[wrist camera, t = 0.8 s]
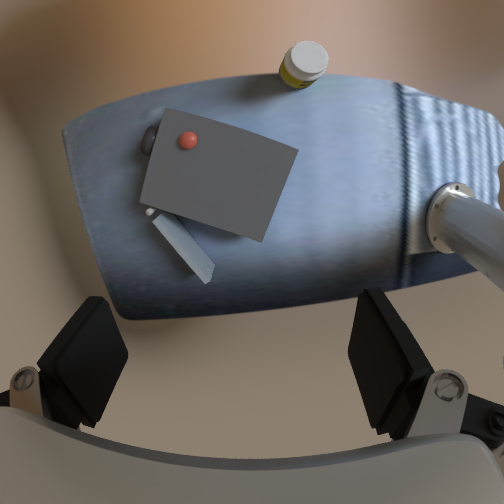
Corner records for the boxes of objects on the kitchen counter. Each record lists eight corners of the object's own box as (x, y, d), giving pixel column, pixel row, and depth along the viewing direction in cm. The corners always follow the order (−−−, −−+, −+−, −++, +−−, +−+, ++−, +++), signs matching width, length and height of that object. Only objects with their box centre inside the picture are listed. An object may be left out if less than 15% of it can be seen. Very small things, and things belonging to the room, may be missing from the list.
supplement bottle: (297, 96, 31) (310, 85, 23) (271, 72, 29) (276, 54, 22) (322, 75, 29) (341, 60, 21) (296, 51, 28) (308, 30, 20)
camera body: (292, 148, 33) (299, 150, 28) (257, 237, 38) (257, 253, 33) (164, 108, 31) (150, 104, 26) (139, 198, 36) (123, 209, 31)
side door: (214, 264, 40) (210, 280, 36) (206, 270, 41) (201, 286, 36) (168, 207, 37) (157, 217, 32) (160, 214, 37) (148, 224, 33)
